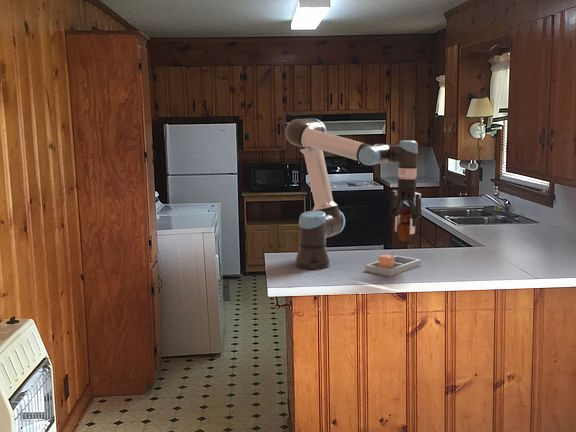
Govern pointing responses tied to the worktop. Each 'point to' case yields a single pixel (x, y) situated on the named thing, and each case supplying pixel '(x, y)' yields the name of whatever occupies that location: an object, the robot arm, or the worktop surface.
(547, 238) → the worktop surface
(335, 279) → the worktop surface
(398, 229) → the wooden figurine
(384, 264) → the orange square block
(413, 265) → the gray tray
